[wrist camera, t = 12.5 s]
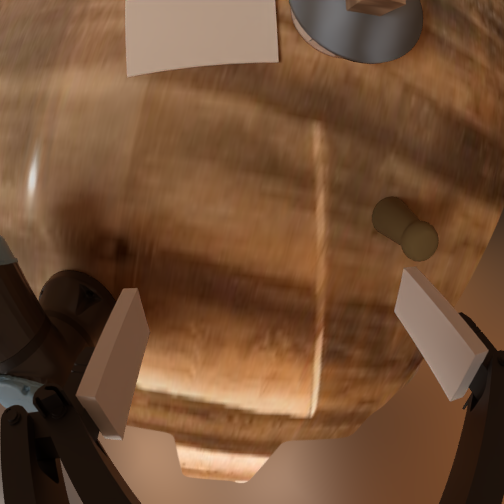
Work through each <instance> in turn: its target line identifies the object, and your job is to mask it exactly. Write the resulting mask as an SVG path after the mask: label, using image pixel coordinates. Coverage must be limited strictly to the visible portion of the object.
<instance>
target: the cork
mask: <svg viewBox="0 0 504 504" xmlns="http://www.w3.org/2000/svg"><path fill="white" fill-rule="evenodd" d="M372 222H373V225H374V227H375V229H376V230H377V231H378V232H380V233H382V234H383V235H385V236H386V237H388V238H390V239H391V240H393V241H394V242H396V243H398V244H399V245H401V247H402V250H403V252H404V253H405V255H406V256H407V257H408V258H410V259H412V260H414V261H424V260H427V259H429V258H430V257H431V256H432V255H433V254H434V253H435V251H436V249H437V246H438V234H437V232H436V230H435V229H434V227H433V226H432V225H430V224H429V223H427V222H425V221H420V220H419V219H418V218H417V217H416V216H415V214H414V213H413V212H412V211H411V210H410V209H409V208H408V207H407V206H406V205H405V204H404V203H403V201H402V200H400V199H399V198H397V197H386V198H384V199H383V200H381V201H380V202H379V203H378V204H377V205H376V207H375V208H374V210H373V214H372Z"/></svg>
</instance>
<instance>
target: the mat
mask: <svg viewBox="0 0 504 504" xmlns="http://www.w3.org/2000/svg"><path fill="white" fill-rule="evenodd" d="M125 30H126V63H127V77H133V76H138V75H144V74H150V73H156V72H162V71H169V70H176V69H184V68H192V67H202V66H212V65H225V64H243V63H278V62H279V59H278V40H277V23H276V7H275V0H126V2H125Z"/></svg>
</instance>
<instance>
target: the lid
mask: <svg viewBox="0 0 504 504" xmlns="http://www.w3.org/2000/svg"><path fill="white" fill-rule="evenodd" d="M289 3H290V6H291V10H292V12H293V14H294V16H295V18H296V20H297V21H298V23H299V24H300V26H301V27H302V28H303V30H304V31H305V32H306V33H307V34H308V35H309V36H310V37H311V38H312V39H313V40H314V41H315V42H316V43H318V44H319V45H320V46H321V47H323V48H324V49H326V50H327V51H329V52H331V53H333V54H335V55H337V56H339V57H341V58H344V59H347V60H350V61H353V62H359V63H367V64H375V63H383V62H388V61H392V60H395V59H398V58H400V57H402V56H403V55H405V54H406V53H408V52H409V51H410V50H411V49H412V48H413V47H414V46H415V44H416V43H417V41H418V39H419V37H420V34H421V31H422V26H423V12H422V6H421V3H420V0H289Z"/></svg>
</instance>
